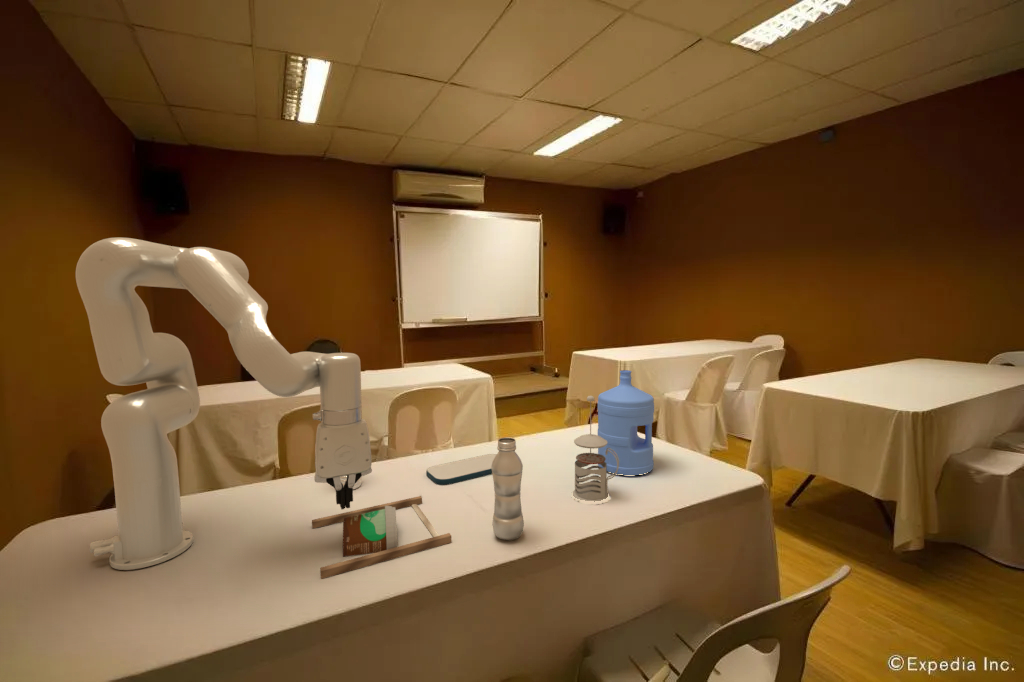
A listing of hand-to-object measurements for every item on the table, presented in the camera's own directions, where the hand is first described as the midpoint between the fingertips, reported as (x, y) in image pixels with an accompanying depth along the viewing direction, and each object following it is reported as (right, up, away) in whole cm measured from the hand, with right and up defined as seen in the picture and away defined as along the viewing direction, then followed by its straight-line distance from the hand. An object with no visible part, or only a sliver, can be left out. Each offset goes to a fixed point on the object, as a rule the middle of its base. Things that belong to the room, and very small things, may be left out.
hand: (344, 505), depth 88 cm
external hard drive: (+21, -5, +38) cm, 44 cm away
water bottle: (-10, -6, +28) cm, 30 cm away
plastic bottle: (+33, -7, +2) cm, 34 cm away
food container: (0, -5, -1) cm, 4 cm away
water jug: (+66, -4, +39) cm, 77 cm away
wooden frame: (+6, -7, +3) cm, 10 cm away
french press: (+54, -5, +20) cm, 58 cm away
